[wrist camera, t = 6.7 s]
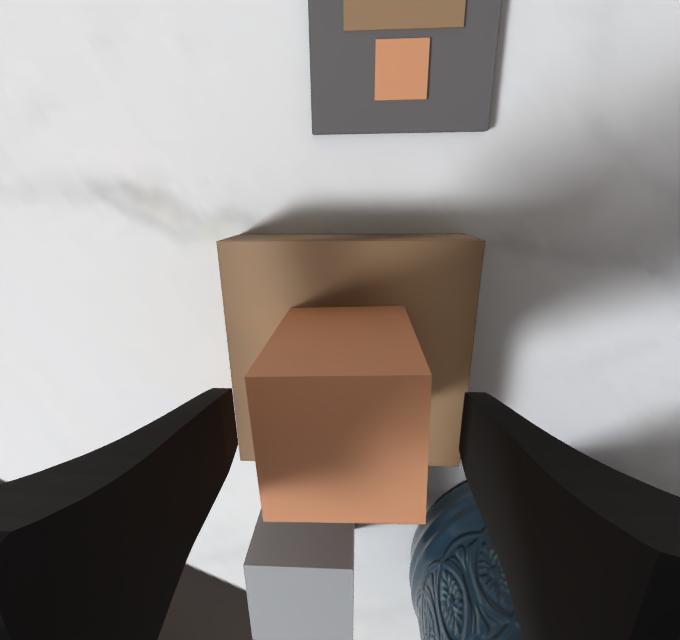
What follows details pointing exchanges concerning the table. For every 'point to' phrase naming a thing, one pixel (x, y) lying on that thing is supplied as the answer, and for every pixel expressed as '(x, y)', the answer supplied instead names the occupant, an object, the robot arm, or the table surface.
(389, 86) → the card
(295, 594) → the grey block
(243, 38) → the table surface
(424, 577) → the canister
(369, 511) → the rust block
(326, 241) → the walnut base
